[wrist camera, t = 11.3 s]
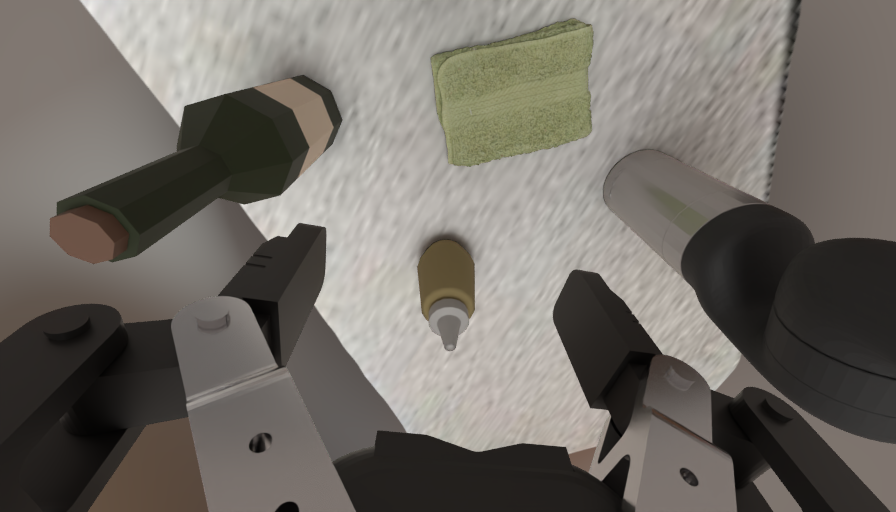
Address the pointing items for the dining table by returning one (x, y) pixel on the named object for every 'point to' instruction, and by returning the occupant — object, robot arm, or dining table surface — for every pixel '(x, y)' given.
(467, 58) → the washcloth
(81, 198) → the wine bottle
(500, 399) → the dining table surface
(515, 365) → the dining table surface
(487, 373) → the dining table surface
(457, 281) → the squeeze bottle
